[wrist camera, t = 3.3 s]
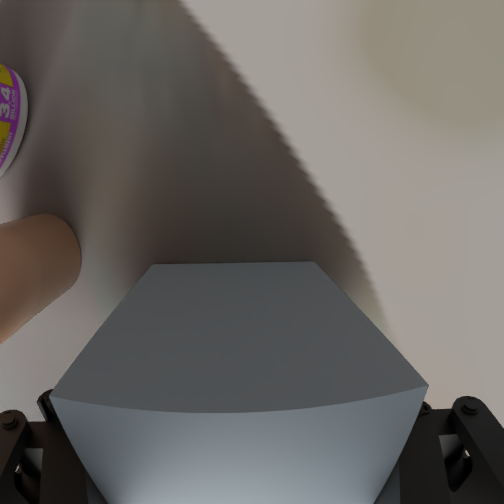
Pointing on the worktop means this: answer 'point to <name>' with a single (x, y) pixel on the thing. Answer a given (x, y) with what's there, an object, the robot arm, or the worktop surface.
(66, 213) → the worktop surface
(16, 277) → the peg
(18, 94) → the supplement bottle
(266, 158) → the worktop surface
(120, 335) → the grey block
